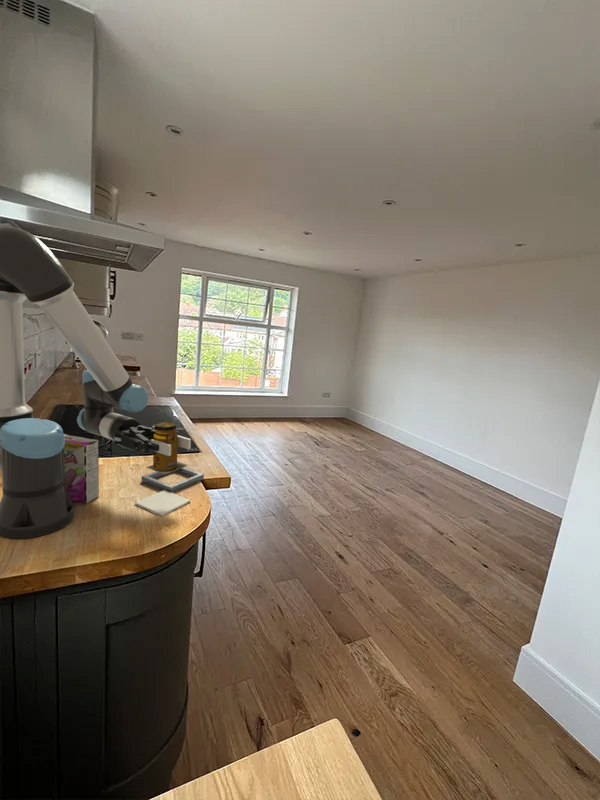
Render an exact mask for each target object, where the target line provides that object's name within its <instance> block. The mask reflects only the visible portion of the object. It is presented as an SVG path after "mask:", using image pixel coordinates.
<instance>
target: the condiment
mask: <svg viewBox="0 0 600 800" xmlns="http://www.w3.org/2000/svg"><path fill="white" fill-rule="evenodd" d="M154 425H155V434H154V438H153V439H154V440H157V441H160V442H163V443H166V444H170V445H171V455H170V456H167V455H164V454H161V453H158V452H155V451H153V452H152V455H153V457H152V458H153V459H152V463H153V464H152V465H150V466H146V468H147V469H150V470H151V471H153V472H155V471H156V472H159V473H162V474H167V473H170V474H172V473H174V472H173V471H175V472H176V470H178V469H180V468H184V467H185V468H187V467H189V466H190V464H187V463H184V462H181V461H178V447H179V446H178V435H179V434H178V435H177V433H176V431H178V430H177V425H176V423H174V422H166V421H165V422H158V423H156V424H154ZM171 472H172V473H171ZM167 475H168V474H167Z"/></svg>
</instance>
